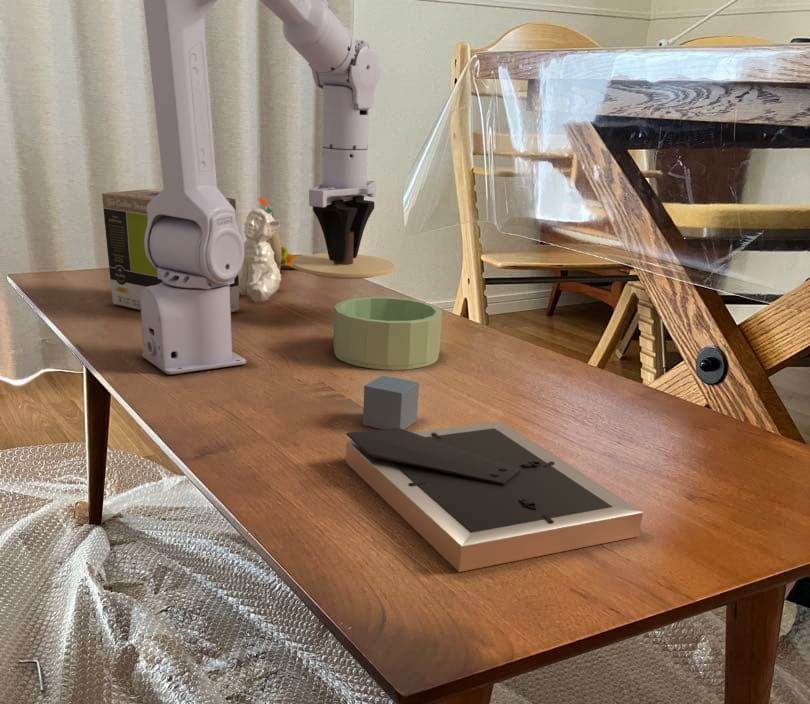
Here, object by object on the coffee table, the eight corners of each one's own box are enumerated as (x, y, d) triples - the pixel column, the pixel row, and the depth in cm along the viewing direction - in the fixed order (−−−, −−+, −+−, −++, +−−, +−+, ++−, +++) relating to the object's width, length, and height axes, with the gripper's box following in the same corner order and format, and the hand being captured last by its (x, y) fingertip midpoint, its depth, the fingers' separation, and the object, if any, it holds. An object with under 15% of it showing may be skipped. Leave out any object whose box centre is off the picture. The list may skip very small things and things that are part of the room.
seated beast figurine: (211, 292, 135) (207, 206, 129) (251, 283, 141) (249, 201, 136) (258, 303, 130) (256, 215, 125) (298, 294, 136) (298, 209, 131)
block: (399, 433, 87) (401, 393, 85) (362, 425, 89) (363, 385, 87) (417, 421, 90) (419, 382, 89) (380, 413, 92) (382, 375, 90)
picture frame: (345, 462, 80) (458, 572, 64) (346, 432, 79) (462, 536, 62) (499, 441, 86) (638, 536, 70) (502, 413, 85) (644, 503, 69)
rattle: (311, 275, 149) (311, 201, 143) (260, 274, 147) (258, 199, 142) (309, 266, 155) (309, 195, 150) (260, 265, 154) (258, 193, 149)
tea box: (242, 311, 126) (238, 197, 119) (190, 324, 118) (183, 204, 111) (163, 293, 133) (155, 185, 126) (109, 305, 125) (98, 190, 118)
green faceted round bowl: (371, 375, 103) (372, 327, 100) (315, 347, 112) (315, 302, 109) (459, 361, 109) (462, 315, 107) (399, 335, 118) (401, 293, 116)
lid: (324, 286, 113) (325, 243, 111) (273, 265, 123) (273, 225, 121) (414, 277, 121) (416, 237, 118) (359, 258, 130) (359, 221, 128)
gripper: (345, 154, 107) (343, 271, 114) (398, 147, 119) (393, 254, 126) (293, 149, 110) (294, 264, 116) (350, 143, 122) (348, 248, 128)
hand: (343, 259), depth 121 cm, fingers closed on lid, 2 cm apart
